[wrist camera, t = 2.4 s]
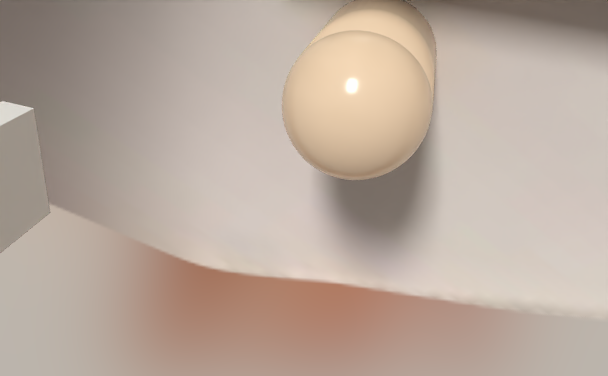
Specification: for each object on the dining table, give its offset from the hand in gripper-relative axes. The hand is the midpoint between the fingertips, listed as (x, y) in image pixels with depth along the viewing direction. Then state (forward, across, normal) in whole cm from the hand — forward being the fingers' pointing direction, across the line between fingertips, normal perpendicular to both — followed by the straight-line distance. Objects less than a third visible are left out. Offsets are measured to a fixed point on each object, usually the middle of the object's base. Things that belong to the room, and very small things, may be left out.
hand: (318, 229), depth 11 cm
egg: (+12, 0, 0) cm, 12 cm away
